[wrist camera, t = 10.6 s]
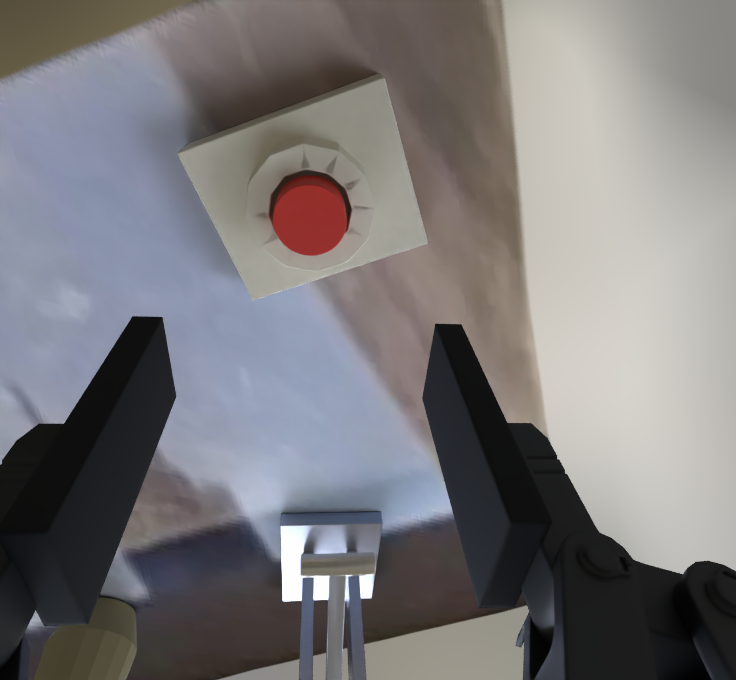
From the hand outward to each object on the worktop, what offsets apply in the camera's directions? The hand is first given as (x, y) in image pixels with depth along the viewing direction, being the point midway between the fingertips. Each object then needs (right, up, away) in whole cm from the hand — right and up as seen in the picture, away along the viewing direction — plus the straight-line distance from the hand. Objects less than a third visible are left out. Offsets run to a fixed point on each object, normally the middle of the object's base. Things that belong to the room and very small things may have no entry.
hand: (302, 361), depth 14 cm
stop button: (-1, +7, +11) cm, 13 cm away
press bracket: (-2, -20, +33) cm, 39 cm away
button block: (-1, +9, +14) cm, 17 cm away
